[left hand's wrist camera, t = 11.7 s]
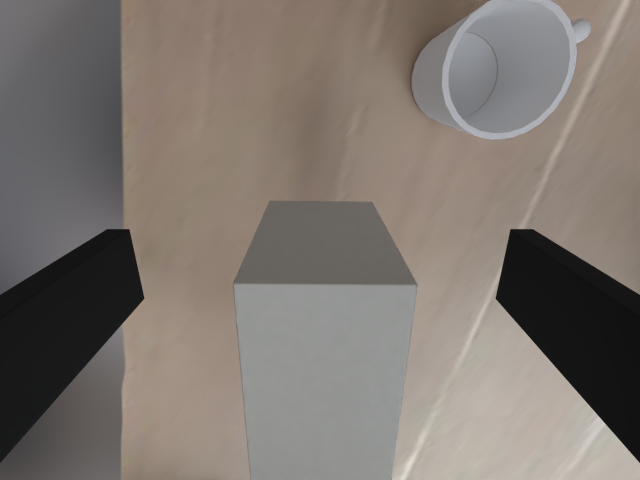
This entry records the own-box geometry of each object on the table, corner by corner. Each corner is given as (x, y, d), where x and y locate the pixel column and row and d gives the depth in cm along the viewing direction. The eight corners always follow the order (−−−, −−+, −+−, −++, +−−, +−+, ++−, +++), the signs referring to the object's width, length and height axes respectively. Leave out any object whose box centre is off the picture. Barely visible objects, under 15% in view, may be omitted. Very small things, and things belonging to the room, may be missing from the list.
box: (269, 200, 25) (232, 283, 14) (372, 201, 25) (417, 284, 14) (280, 473, 35) (265, 644, 24) (353, 473, 35) (369, 643, 24)
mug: (425, 143, 35) (465, 161, 26) (391, 55, 32) (422, 38, 23) (533, 89, 34) (619, 87, 24) (507, -10, 30) (595, -58, 21)
